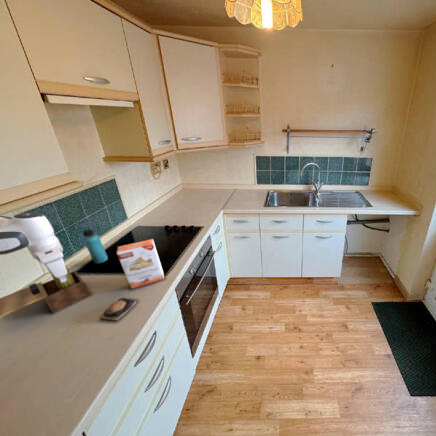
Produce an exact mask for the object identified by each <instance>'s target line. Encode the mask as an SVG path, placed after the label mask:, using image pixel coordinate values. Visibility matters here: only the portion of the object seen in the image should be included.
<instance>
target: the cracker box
mask: <svg viewBox="0 0 436 436" xmlns="http://www.w3.org/2000/svg"><path fill="white" fill-rule="evenodd" d="M116 255H117V257H118V260H119V263H120V265H121V267H122V270H123V272H124V275H125V278H126V280H127V283H128V285H129V287H130V289H131V290H133V289H136V288H139V287H143V286H146V285H149V284H152V283H156V282H159V281H163V280H165V275H164V269H163V267H162V263H161V260H160V257H159V254H158V250H157V247H156V245H155V241H154V239H153V238H150V239H146V240H142V241H138V242H133V243H128V244H123V245H120V246H117V249H116Z"/></svg>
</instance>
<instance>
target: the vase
mask: <svg viewBox="0 0 436 436" xmlns="http://www.w3.org/2000/svg"><path fill="white" fill-rule="evenodd" d="M65 266H66V269H67V275H65V277H66V279H67V281H65V282H63V283H62V282H61V281H60V279H59V278H55V277H54V276H53V275H52V273H51V272H50V271H49V273H50V275H51V277H52V278H53V279H54V280H55V282H56V284H57V286H58V288H59V290H63V289H65V288H67V287H70V286H72V285H74V284H76V282H75V280H74V279H73V277H72V275H71V274H70V273H71V272H70V270H69V269H68V267H67V265H66V264H65ZM53 279H52V280H53Z"/></svg>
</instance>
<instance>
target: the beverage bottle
mask: <svg viewBox="0 0 436 436" xmlns="http://www.w3.org/2000/svg"><path fill="white" fill-rule="evenodd" d="M82 234H83V236H84V239H83V242H84V244H85V247H86V250H87V251H88V253H89V254H90V257H91V260H92V261H93V263H94V264H102V263H104V262H106V261H108V260H109V257H108V254H107V252H106V250H105V247H104V246H103V244H102V241H101V239H100V236H99V235H98V234H95V232H94V230H93V229H87V230H84V231H83V232H82Z"/></svg>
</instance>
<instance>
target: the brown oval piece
mask: <svg viewBox="0 0 436 436" xmlns="http://www.w3.org/2000/svg"><path fill="white" fill-rule="evenodd" d="M136 303H137V301H136V300H135V299H134V300H132V299H131V298H129V299H128V298H124V297H121V298H119V299H118V300H117V301H115V302H113V303H111V304H110V305H109V307H108V308H107V309H106V310H105V311H104V313H103V314H102V316H101V319H103V320H108V321H114V322H115V321H117V322H118V320H120V319H121V318H122V317H123V316H124V315H126V314H127V313H129V311H130V309H132V308H133V306H134V305H136Z"/></svg>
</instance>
